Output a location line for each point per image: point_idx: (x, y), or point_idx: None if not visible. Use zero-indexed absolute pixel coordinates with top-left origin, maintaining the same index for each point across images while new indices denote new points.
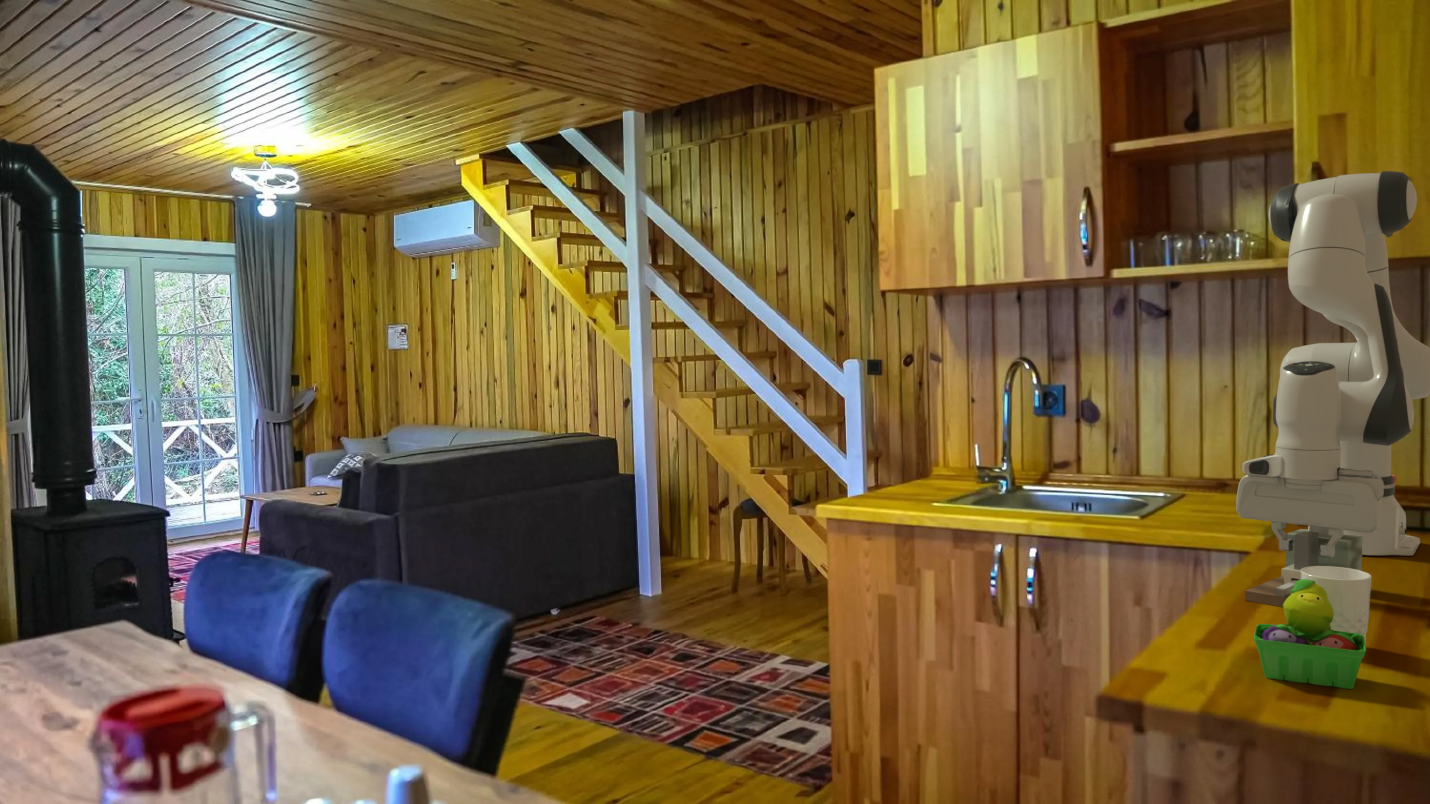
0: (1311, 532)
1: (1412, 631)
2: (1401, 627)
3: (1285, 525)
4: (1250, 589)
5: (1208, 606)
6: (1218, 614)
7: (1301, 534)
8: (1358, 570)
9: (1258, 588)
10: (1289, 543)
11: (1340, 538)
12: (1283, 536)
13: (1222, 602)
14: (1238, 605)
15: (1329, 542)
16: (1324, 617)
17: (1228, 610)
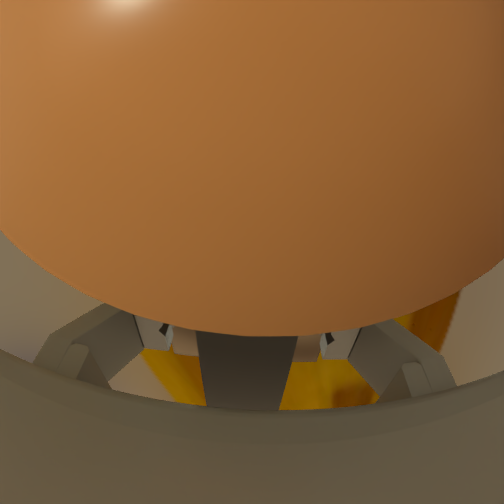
0: (254, 342)
1: (438, 342)
2: (430, 335)
3: (87, 362)
4: (175, 341)
5: (166, 384)
6: (200, 404)
7: (231, 402)
8: None
9: (180, 327)
10: (171, 334)
11: (421, 342)
12: (126, 343)
13: (163, 362)
14: (191, 366)
15: (365, 374)
16: None
17: (198, 389)
